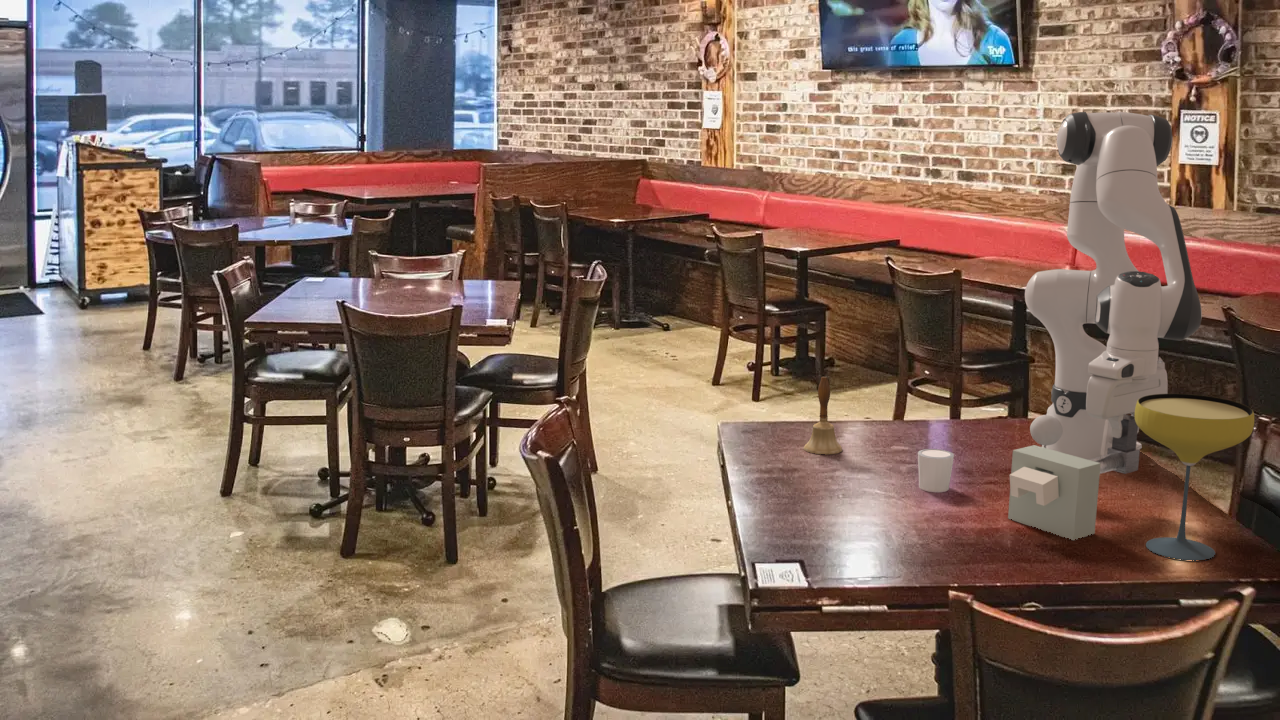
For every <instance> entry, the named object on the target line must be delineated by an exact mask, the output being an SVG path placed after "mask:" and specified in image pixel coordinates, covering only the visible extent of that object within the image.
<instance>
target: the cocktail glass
mask: <svg viewBox="0 0 1280 720" xmlns="http://www.w3.org/2000/svg"><path fill="white" fill-rule="evenodd" d="M1135 421H1136V424H1137V426H1138V427H1139V430H1140V431H1142V432H1143V433H1144V434H1145V435H1146V436H1148V437H1149V438H1151V439H1152V440H1154V441H1156V442H1157V443H1160V445H1162V446H1165V447H1166V448H1168V449H1170V450H1171V451H1172V452H1173V453H1175V454H1176V456H1177V457H1178V459H1179V461H1180V462H1181V463H1182V464H1183V465H1185V466H1186V467H1185V479H1184V487H1183V488H1184V489H1183V497H1182V506H1181V516H1180V523H1179V527H1178V532H1177V535H1176V537H1173V536H1172V537H1170V536H1166V537H1164V536H1163V537H1155V538H1154V537H1153V538H1152V539H1149V540H1147V542H1145V546H1146V549H1147V550H1148V549H1149V551H1150V552H1151V551H1152V552H1151V553H1153V554H1155V553H1156V554H1155V555H1157V554H1158V555H1157V556H1160V555H1162V556H1165V557H1164V558H1166V557H1170V558H1175V559H1181V560H1192V561H1191V562H1197V561H1196V560H1205V559H1209V560H1211V559H1213V558H1214V557H1215V556H1216V551H1215V550H1214V549H1213V548H1212V547H1210V546H1209V545H1207V544H1205V543H1202V542H1200V541H1197V540H1192V539H1187V537H1186V521H1187V519H1186V518H1187V507H1188V496H1189V484H1190V475H1191V467H1193V466H1195V465H1197V463H1198V462H1200V461H1201V459H1203V458H1204V457H1206V456H1208V455H1210V454H1212V453H1217V452H1219V451H1222V450H1227V449H1229V448H1232V447H1234V446H1237V445H1239V444H1240V443H1242V442H1244V441H1245V440H1247V439H1248V438H1249V437H1250V436H1251V435H1252V433H1253V431H1254V427H1255V413H1254V410H1253V409H1252V408H1251V407H1250V406H1247V405H1246V404H1242V403H1240V402H1237V401H1234V400H1229V399H1225V398H1221V397H1215V396H1210V395H1209V396H1208V395H1201V394H1189V393H1188V394H1187V393H1167V394H1154V395H1148V396H1144V397H1141V398H1140V399H1138V401H1137V403H1136V407H1135ZM1214 555H1215V556H1214ZM1162 556H1161V557H1162ZM1212 557H1213V558H1212ZM1170 558H1169V559H1170ZM1210 558H1211V559H1210ZM1175 559H1174V560H1175ZM1181 560H1180V561H1181ZM1193 560H1194V561H1193ZM1205 561H1206V560H1205Z"/></svg>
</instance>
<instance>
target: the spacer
mask: <svg viewBox="0 0 1280 720" xmlns="http://www.w3.org/2000/svg"><path fill="white" fill-rule="evenodd" d="M1008 476H1009V487H1010V488H1009V491H1010V490H1011V496H1014V497H1018V498H1019V497H1021V496H1022V495H1024V494H1026V493H1028V492H1029V491H1031V492H1034V493H1036V503H1037V504H1040V505H1043V506H1045V505H1047V504H1048V503H1050V502H1052V501H1054V500H1055V499H1057V498H1059V491H1058V476H1055V475H1051V474H1048V473H1044V472H1041V471H1037V470H1034V469H1031V468H1027V467H1023V468H1021V469H1019V470H1017V471H1015V472H1013V473H1012V474H1011V473H1010V474H1009V475H1008Z"/></svg>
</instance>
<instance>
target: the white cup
mask: <svg viewBox="0 0 1280 720" xmlns="http://www.w3.org/2000/svg"><path fill="white" fill-rule="evenodd" d="M954 459H955V454H954V453H953V452H951V451H950V450H949V451H948V450H944V449H940V448H939V449H937V448H925V449H922V450H921V449H920V450H919V451H917V465H918V466H917V469H918V488H919V489H920V490H922V491H925V492H929V493H946V492H947V491H949V490H950V483H951V477H952V471H953V464H954Z"/></svg>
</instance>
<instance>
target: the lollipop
mask: <svg viewBox="0 0 1280 720" xmlns="http://www.w3.org/2000/svg"><path fill="white" fill-rule="evenodd" d="M1029 431H1030V436H1031V437H1032V439H1033V441H1035V442H1036V443H1037V444H1039V445H1041V446H1042V445H1044V448H1046V445H1052V444H1054V443H1056V442H1057V441H1058V440H1059V439H1060V438H1061V436H1062V433H1063V428H1062V425H1061V423H1060V422H1059V420H1058V419H1057V418H1055V417H1053V416H1051V415H1047V414H1043V415H1039V416H1037V417H1035V419H1033V421H1032V422H1031V424H1030V426H1029Z"/></svg>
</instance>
